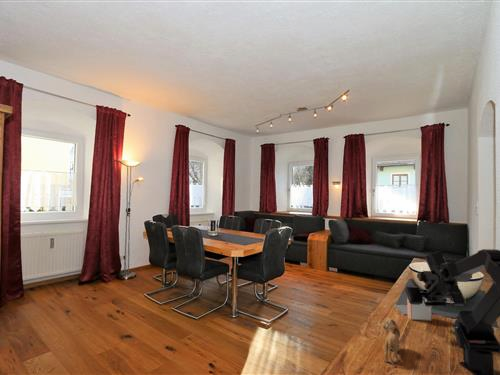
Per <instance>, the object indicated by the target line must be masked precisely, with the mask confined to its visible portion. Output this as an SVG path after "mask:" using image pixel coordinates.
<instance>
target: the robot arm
mask: <svg viewBox="0 0 500 375" xmlns="http://www.w3.org/2000/svg"><path fill="white" fill-rule="evenodd" d="M424 258H425V261H426V264H427V267H428V269H429V270H422V271H419V272H417V274H416V278H417V280H418V281H419V282H422V283H424V289H419V288H420V287H419V286H413V285H407V286H406V288H405V289H404V293H406V298H407V297H408V300H409V303H410V304H414V305H419V304H422V303H423V301H424V303H425V306H426V307H432V308H433V307H446V306H447V302H448V301H450V302H452V301H453V305H454V306H456V307H463V306H464V305H465V304H466V299H465V297H464V295H463V293H462V290H461V289H460V287H459V285H458V284H459V282H460V283H467V282H468V281H470V280H472V279H473V275H474V274H476V273H479V272H483V271H484V270H485V272H486V273H487V274H488V275H489V276H490V279H491V281H492V284H491V286H490V288H489V289H488V290H487V291H486V293H484V295H483V297H482V298H481V299H480V300H479V302H478V303H477V304H476V306H475V307H474V308H473V310H463V309H462V310H460V311H459V312H458V314H457V315H456V316H455V320H454V324H453V329H454V333H455V338H456V339H455V340H456V343H457V344H458V345H459V348H460V349H462V355H463V356H462V357H463V358H462V359H463V360H462V361H459V362H458V363H459V365H460V366H462V367H464V368H465V369H466V370H468V371H469V372H470V373H472V374H473V375H500V374H499V372H497V371H496V370H494V368H495V367H494V353H496V354H500V343H499V341H498V339H497V337H496V335H495V329H494V327H493V324H494V323H495V322H496V321H497V320H498V319H499V317H500V249H496V248H495V249H490V248H489V249H488V248H487V249H485V248H484V249H480V250H479V249H478V251H477V252H475V253H474V254H472V255H470V256H467V257H465V258H463V259H461V260H459V261H455V262H454V261H453V262H446V261H447V260H446V259H445V258H444V256H443V252H441V251H434V252H433V253H430V254H427V255H426V256H425V257H424Z"/></svg>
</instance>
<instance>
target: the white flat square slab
mask: <svg viewBox="0 0 500 375" xmlns="http://www.w3.org/2000/svg"><path fill="white" fill-rule="evenodd" d="M393 306H394V307H395V309H397V311H398V312H400V313H401V314H402V315H403V316H408V313H407V304H393Z"/></svg>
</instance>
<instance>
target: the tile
mask: <svg viewBox="0 0 500 375" xmlns="http://www.w3.org/2000/svg"><path fill="white" fill-rule="evenodd" d="M406 305H407V313H408V315H407V318H408V319H409V320H411V321H428V322H429V321H431V322H432V320H433V314H432V313H433V311H432V310H433V309H432V308H433V307H426V306H425V303H424V301H423V303H422V304H419V305H414V304H410V303H409V300H408V297H407V296H406Z"/></svg>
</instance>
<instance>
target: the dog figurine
mask: <svg viewBox="0 0 500 375" xmlns="http://www.w3.org/2000/svg"><path fill="white" fill-rule="evenodd" d="M381 327H382V328H383V329H384V330H385V331H386V333H385V334H386V337H385V343H384V359H383V360H384V362H386V363H388V362H389V361H390V363H391V365H392V366H395V361H394V360H393V357H392V351H393V353H394V354H393V356H394V359H395V360H396V361H400V358H399V357H398V352H399V351H400V337H401V332H400V330H399V326H398V324H397V322H396V321H395V320H394V319H393V318H388V317H387V318H386V320H385V321H384V322H382V323H381ZM391 350H392V351H391ZM388 356H389V358H388ZM389 359H390V360H389Z"/></svg>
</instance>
